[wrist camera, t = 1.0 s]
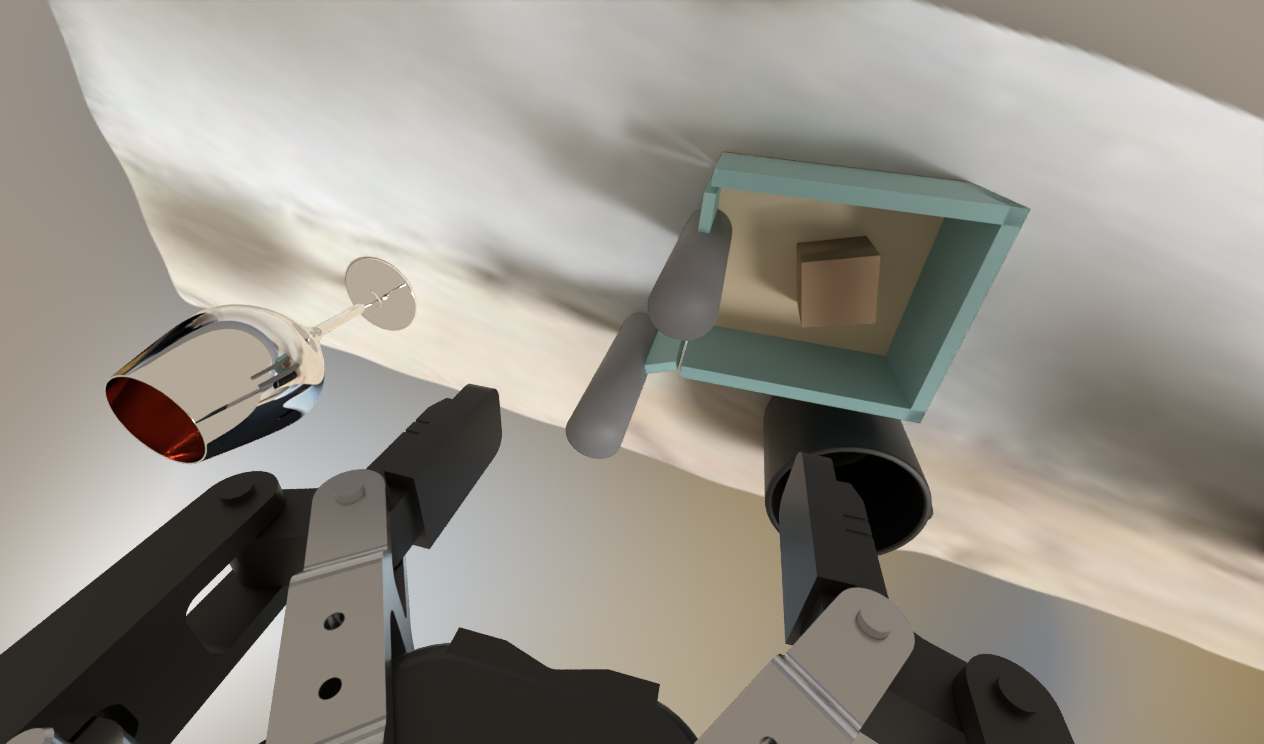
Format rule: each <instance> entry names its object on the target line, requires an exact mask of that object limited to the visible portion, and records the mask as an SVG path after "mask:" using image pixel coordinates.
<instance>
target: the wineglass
mask: <svg viewBox="0 0 1264 744" xmlns="http://www.w3.org/2000/svg"><path fill="white" fill-rule="evenodd" d="M346 287H347V292H348V295H349V297H350V299H351V301H352V303H353V306H352V307H350V308H348V309H346V310H344V311H343V312H341V313H339V314H337V315H335V316H333V317H332V318H330V319H328V320H326V321H324V322H322V323H320V324H318V325H316V326H305V325H302V324H300V323H298V322H297V321H295V320H293V319H291V318H289V317H287V316H285V315H283V314H281V313H278V312H276V311H273V310H270V309H266V308H262V307H258V306H252V305H242V304H231V305H221V306H216V307H212V308H208V309H205V310H203V311H201V312H198V313H196V314H195V315H193V316H191V317H189V318H187V319H186V320H184V321H183V322H181V323H180V324H178V325H177V326H175V327H174V328H172V329H171V330H170V331H169V332H167V333H166V334H164V335H163V336H162V337H160V338H159V339H158V340H156V341H155V342H154V343H153V344H151V345H150V346H149V347H147V348H146V349H145V350H144V351H142V352H141V353H140V354H139V355H137V356H136V357H135V358H134V359H132V360H131V361H130V362H129V363H127V364H126V365H125V366H124V367H123V368H121V369H120V370H119V371H118V372H116V373H115V374H114V375H113V376H111V377H110V378H109V379H108V380H107V381H106V383H105V386H104V394H105V398H106V401H107V404H108V405H109V408H110V409H111V411H112V412H113V414H114V415H115V417H116V418H117V420H118V421H119V422H120V423H121V425H123V427H124V428H125V429H126V430H127V431H128V432H129V433H130V434H131V435H133V437H135V438H136V439H137V440H138V441H140V442H141V443H142V444H143V445H145V446H146V447H148V448H149V449H151V450H152V451H154V452H155V453H157V454H159V455H161V456H163V457H165V458H167V459H170V460H172V461H175V462H178V463H183V464H196V463H199V462H201V461H204V460H207V459H210V458H212V457H215V456H217V455H220V454H223V453H225V452H228V451H230V450H233V449H235V448H238V447H240V446H243V445H245V444H248V443H251V442H253V441H255V440H258V439H260V438H263V437H265V436H267V435H270V434H272V433H274V432H276V431H279V430H281V429H283V428H285V427H287V426H289V425H291V424H293V423H294V422H296V421H298V420H299V419H300V418H302V417H303V416H305V415H306V414H307V413H308V412H309V411H310V410H311V409H312V407H313V406H314V405H315V403H316V402H317V400H318V398H319V396H320V394H321V391H322V388H323V384H324V377H325V366H324V359H323V355H322V351H321V348H320V340H321V338H322V336H323V335H325V334H326V333H328V332H330V331H332V330H333V329H335V328H337V327H338V326H340V325H342V324H344V323H345V322H347V321H349V320H350V319H352V318H354V317H356V316H358V315H359V314H361V315H362V316H363V317H364V318H365V319H367V320H368V321H369V322H371V323H372V324H374V325H376V326H378V327H380V328H383V329H386V330H393V331H395V330H401V329H404V328H406V327H408V326H409V325H410V324H411V323H412V322H413V320H414V319H415V316H416V313H417V301H416V297H415V294H414V291H413V289H412V287H411V285H410V284H409V282H408V281H407V279H406V278H405V277H404V276H403V275H402V274H401V273H400V272H399V271H398V270H397V269H396V268H394V267H393V266H392V265H390V264H388V263H386V262H384V261H382V260H379V259H374V258H364V259H360V260H358V261H356V262H355V263H353V264H352V265H351V266H350V268H349V269H348V272H347V275H346Z"/></svg>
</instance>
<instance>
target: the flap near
mask: <svg viewBox="0 0 1264 744" xmlns="http://www.w3.org/2000/svg"><path fill="white" fill-rule="evenodd" d="M712 178H713V176H712ZM712 178H711V180H710V182H709V184H708V186H707V188H706V190H705V192H704V196H703V203H702V209H700V210H698V211H696V212H695V213H694V214H693V215H692V216H691V217H690V218H689V220H688V221H687V223H686V225H685V227H684V229H683V231H682V233H681V235H680V237H679V239H678V241H677V243H676V245H675V247H674V249H673V251H672V253H671V255H670V256H669V258H668V260H667V262H666V264H665V266H664V268H663V270H662V272H661V274H660V276H659V278H658V280H657V282H656V284H655V286H654V288H653V290H652V291H651V293H650V296H649V300H648V312H649V316H650V319H651V321H652V323H653V324H654V326H655V327H656V328H657V329H658V330H659V331H660V332H661V333H663V334H664V335H666V336H668V337H670V338H672V339H676V340H682V341H687V340H694V339H697V338H700V337H702V336H704V335H705V334H706V333H708V332H709V331H710V330H711V329H712V328H713V326H714V325H715V323H716V321H717V318H718V315H719V309H720V303H721V297H722V291H723V285H724V279H725V274H726V268H727V262H728V256H729V250H730V244H731V238H732V224H731V222H730V220H729V218H728V217H727V215H726V214H725V213H723V212H722V211H720V210H718V203H719V197H720V192H721V187H714V186H711V184H712Z"/></svg>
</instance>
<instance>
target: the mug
mask: <svg viewBox="0 0 1264 744" xmlns="http://www.w3.org/2000/svg"><path fill="white" fill-rule="evenodd" d="M799 452H803V453H808V454H812V455H817V456H822V457H827V458H831V460H832V462H833V467H834V472H835V477H836V481H840V482H845V483H850V484H851V485H852V486H853V488H854V489H855V491H856V492H857V493H858V495H859V496H860V497H861V499H862V500H863V502H864V505H865V509H866V513H867V517H868V523H869V525H870V529H871V533H872V539H873V540H874V544H875V548H876V552H877V556H878V555H882V554H885V553H888V552H891V551H894V550H896V549H898V548H900V547H902V546H903V545H905V544H907V543H908V542H909V541H911V540H912V539H914V538H915V537H916V536H917V535H918V534H919V533H920V531H921V530H922V529H923V528H924V526H925V525H926V523H927V521H928V520H929V519H931V517H932V515H933V508H932V500H931V493H930V490H929V486H928V484H927V481H926V479H925V477H924V474H923V472H922V470H921V467H920V465H919V463H918V460H917V458H916V456H915V453H914V451H913V448H912V446H911V444H910V441H909V439H908V437H907V434H906V432H905V430H904V427H903V425H902V423H901V420H900V419H895V418H890V417H885V416H880V415H874V414H869V413H864V412H859V411H854V410H848V409H843V408H838V407H833V406H828V405H822V404H817V403H812V402H807V401H802V400H796V399H791V398H786V397H781V396H776V395H774V396H773V398H772V399H771V401H770V402H769V404H768V406H767V408H766V411H765V415H764V475H765V507H766V511H767V514H768V517H769V519H770V521H771V523H772V524H773V526H774V527H775V528H776V530H777V531H778V532H779V533H780V528H779V511H780V504H781V499H782V495H783V492H784V490H785V487H786V484H787V481H788V478H789V476H790V473H791V470H792V467H793V464H794V461H795V459H796V456H797V454H798V453H799Z"/></svg>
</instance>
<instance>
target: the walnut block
mask: <svg viewBox="0 0 1264 744" xmlns="http://www.w3.org/2000/svg"><path fill="white" fill-rule="evenodd" d="M880 258H881V255H880V254H879V252H878V251H877V250H876V248H875V247H874V245H873V244H872V243H871V241H870V240H869V239H868V237H867V236H859V237H849V238H840V239H830V240H821V241H811V242H802V243H797V305H798V310H799V316H800V321H801V327H802V328H805V327H822V326H839V325H857V324H874V323H875V319H876V307H877V295H878V282H879V270H880Z"/></svg>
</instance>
